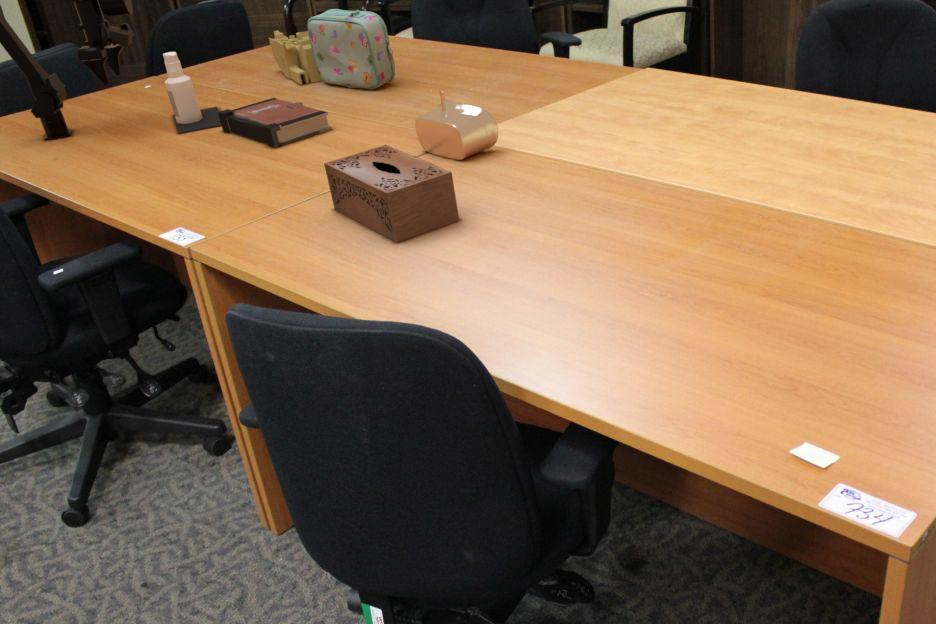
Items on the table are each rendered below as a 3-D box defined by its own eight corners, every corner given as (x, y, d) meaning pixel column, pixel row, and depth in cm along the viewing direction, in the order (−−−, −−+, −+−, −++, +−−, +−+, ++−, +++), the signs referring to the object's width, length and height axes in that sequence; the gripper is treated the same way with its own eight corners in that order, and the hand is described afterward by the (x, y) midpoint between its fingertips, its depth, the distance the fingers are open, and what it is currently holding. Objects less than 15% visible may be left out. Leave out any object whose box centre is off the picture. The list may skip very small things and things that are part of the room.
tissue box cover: (334, 209, 203) (323, 163, 198) (394, 189, 211) (385, 144, 205) (396, 242, 186) (386, 193, 181) (459, 220, 194) (451, 172, 188)
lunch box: (405, 83, 285) (391, 6, 273) (381, 93, 278) (366, 14, 266) (340, 76, 298) (324, 2, 286) (315, 85, 291) (298, 10, 279)
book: (333, 128, 252) (329, 109, 249) (275, 148, 242) (269, 128, 239) (280, 113, 268) (275, 95, 265) (222, 130, 257) (217, 112, 255)
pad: (173, 115, 274) (172, 114, 273) (216, 107, 277) (216, 106, 277) (178, 134, 258) (178, 132, 258) (224, 125, 262) (224, 124, 262)
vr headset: (502, 150, 228) (494, 88, 220) (466, 164, 221) (457, 101, 213) (451, 137, 239) (442, 78, 231) (415, 151, 232) (404, 90, 224)
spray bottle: (193, 115, 271) (173, 49, 261) (207, 118, 267) (188, 51, 258) (171, 122, 266) (150, 55, 257) (186, 125, 263) (165, 57, 253)
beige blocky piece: (353, 24, 293) (287, 29, 284) (361, 78, 299) (297, 85, 290) (328, 25, 312) (266, 31, 303) (337, 76, 318) (276, 83, 309)
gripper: (110, 23, 244) (131, 86, 252) (134, 8, 259) (153, 68, 268) (66, 27, 243) (88, 90, 252) (92, 12, 259) (112, 71, 267)
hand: (112, 79), depth 260 cm, fingers open, 9 cm apart
